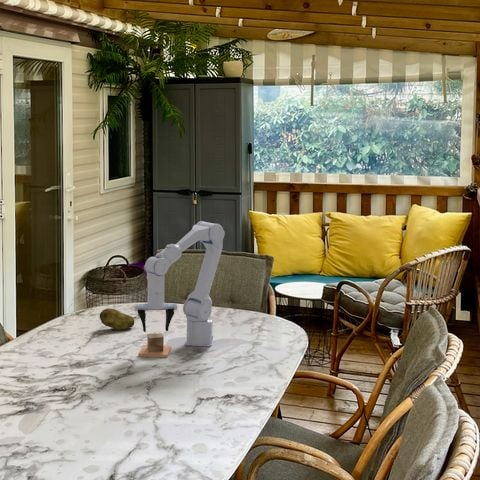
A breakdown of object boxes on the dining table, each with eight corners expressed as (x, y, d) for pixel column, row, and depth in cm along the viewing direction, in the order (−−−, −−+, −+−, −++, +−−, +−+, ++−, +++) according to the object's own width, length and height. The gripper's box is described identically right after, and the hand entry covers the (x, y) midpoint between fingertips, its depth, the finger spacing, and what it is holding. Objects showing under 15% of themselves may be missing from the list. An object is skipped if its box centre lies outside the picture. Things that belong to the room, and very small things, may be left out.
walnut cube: (161, 347, 260) (161, 333, 260) (163, 351, 256) (163, 337, 255) (147, 347, 259) (147, 333, 259) (148, 352, 255) (148, 337, 254)
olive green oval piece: (132, 332, 281) (132, 311, 280) (97, 331, 281) (97, 310, 280) (135, 326, 289) (135, 306, 288) (102, 325, 289) (102, 305, 288)
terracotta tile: (171, 348, 262) (171, 346, 262) (167, 357, 252) (167, 354, 252) (143, 347, 263) (143, 344, 263) (138, 356, 253) (138, 353, 253)
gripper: (175, 289, 260) (175, 326, 262) (133, 290, 257) (133, 328, 259) (178, 293, 253) (177, 332, 255) (135, 294, 250) (135, 333, 252)
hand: (155, 330), depth 256 cm, fingers open, 7 cm apart
